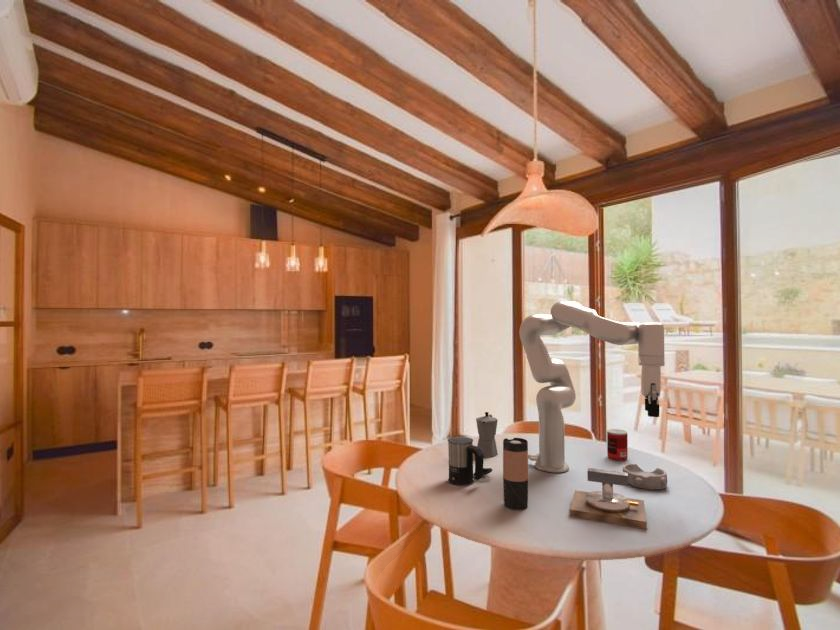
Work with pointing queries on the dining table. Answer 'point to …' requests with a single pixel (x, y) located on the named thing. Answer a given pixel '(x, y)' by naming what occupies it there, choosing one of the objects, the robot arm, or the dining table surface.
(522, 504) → the travel mug
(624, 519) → the dial stand
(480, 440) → the coffeepot
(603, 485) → the door handle
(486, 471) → the milk frother
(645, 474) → the dish
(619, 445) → the canned food
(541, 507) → the dining table surface
